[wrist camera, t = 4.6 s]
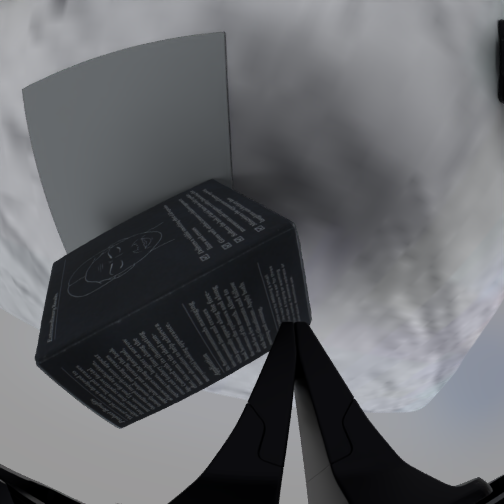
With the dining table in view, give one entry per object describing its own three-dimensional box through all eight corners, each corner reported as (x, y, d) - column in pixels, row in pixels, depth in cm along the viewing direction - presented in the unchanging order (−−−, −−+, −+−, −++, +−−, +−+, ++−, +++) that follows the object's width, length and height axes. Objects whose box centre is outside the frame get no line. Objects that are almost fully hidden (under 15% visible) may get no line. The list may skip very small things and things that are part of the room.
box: (240, 254, 19) (99, 328, 16) (215, 175, 16) (50, 259, 13) (316, 327, 13) (117, 433, 10) (300, 221, 9) (28, 363, 7)
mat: (224, 32, 11) (224, 31, 11) (241, 315, 23) (241, 318, 23) (24, 88, 12) (22, 89, 11) (94, 306, 24) (93, 308, 23)
